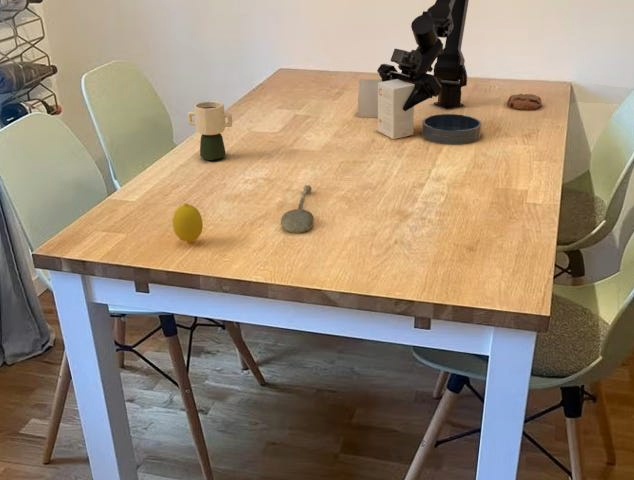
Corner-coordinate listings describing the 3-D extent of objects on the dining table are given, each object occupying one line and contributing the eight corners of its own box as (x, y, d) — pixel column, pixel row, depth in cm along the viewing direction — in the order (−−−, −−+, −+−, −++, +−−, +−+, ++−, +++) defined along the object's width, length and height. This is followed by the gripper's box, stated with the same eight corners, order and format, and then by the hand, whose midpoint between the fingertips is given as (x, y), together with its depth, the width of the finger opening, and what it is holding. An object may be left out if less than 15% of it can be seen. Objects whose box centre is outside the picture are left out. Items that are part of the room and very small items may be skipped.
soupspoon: (278, 235, 151) (311, 238, 150) (278, 220, 149) (311, 222, 149) (293, 190, 169) (323, 193, 169) (293, 176, 167) (323, 178, 167)
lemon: (176, 237, 149) (171, 198, 145) (204, 236, 149) (201, 197, 145) (174, 249, 144) (169, 210, 140) (203, 248, 145) (200, 208, 140)
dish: (410, 133, 205) (410, 120, 203) (453, 123, 212) (454, 111, 210) (448, 148, 194) (449, 134, 192) (492, 137, 201) (493, 124, 199)
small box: (413, 135, 202) (414, 85, 195) (393, 139, 200) (393, 89, 193) (397, 127, 209) (397, 78, 202) (377, 131, 206) (376, 82, 199)
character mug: (238, 154, 191) (235, 101, 184) (230, 164, 185) (227, 109, 178) (196, 152, 193) (191, 100, 186) (187, 161, 187) (182, 108, 180)
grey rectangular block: (381, 117, 218) (382, 81, 212) (357, 116, 219) (358, 80, 214) (383, 113, 221) (384, 78, 216) (359, 112, 222) (360, 77, 217)
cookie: (546, 103, 228) (548, 93, 227) (534, 112, 221) (536, 101, 219) (514, 99, 233) (515, 89, 231) (501, 107, 225) (502, 97, 224)
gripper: (384, 31, 200) (351, 80, 200) (437, 41, 188) (403, 94, 188) (403, 59, 209) (371, 106, 208) (455, 71, 197) (422, 121, 196)
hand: (391, 106), depth 200 cm, fingers closed on small box, 9 cm apart
